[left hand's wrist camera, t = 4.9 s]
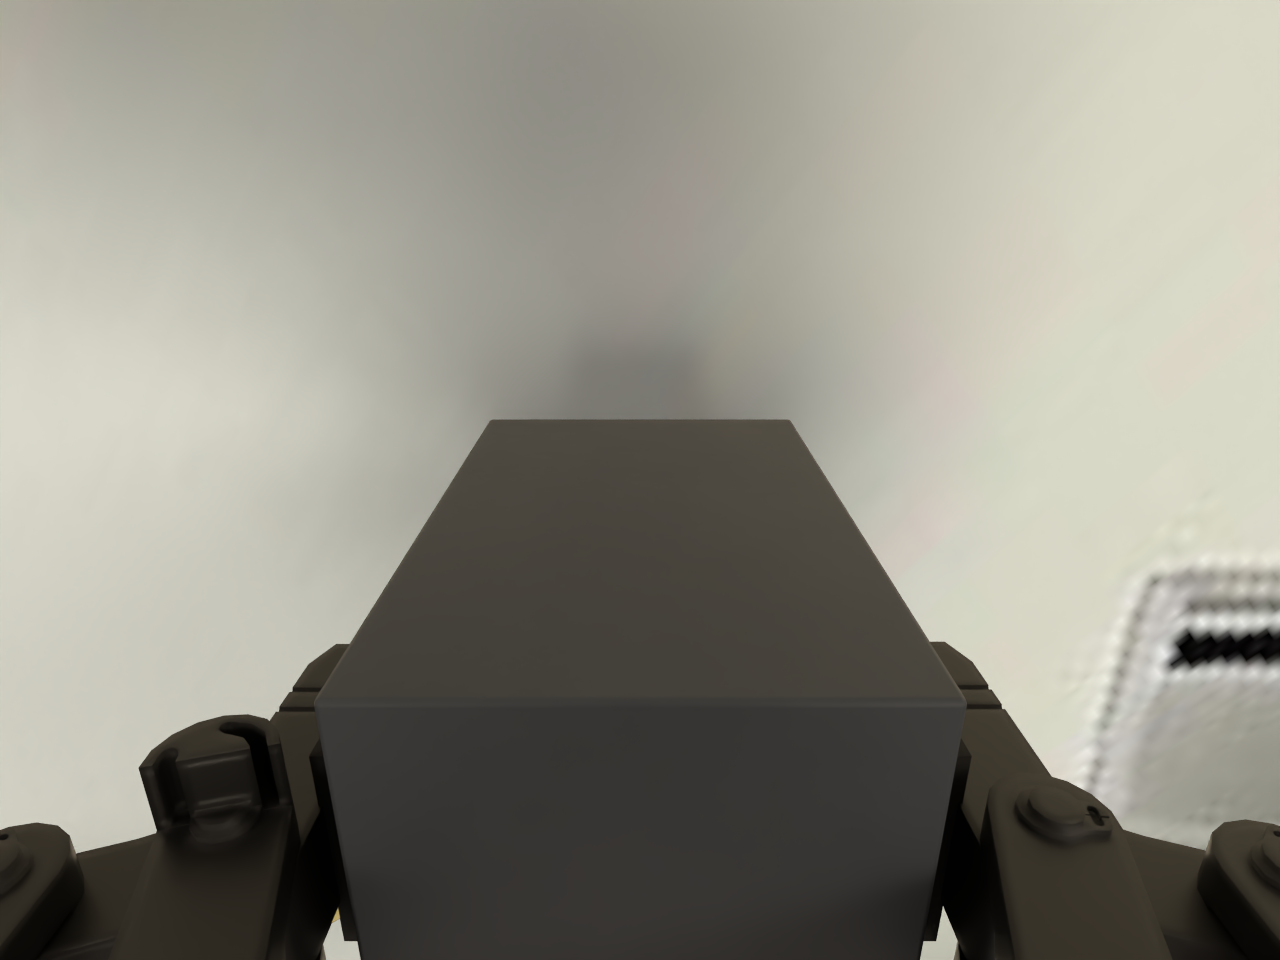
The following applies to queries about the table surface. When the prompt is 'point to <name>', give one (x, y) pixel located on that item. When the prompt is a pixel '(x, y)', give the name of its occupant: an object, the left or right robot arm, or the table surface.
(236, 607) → the table surface
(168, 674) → the table surface
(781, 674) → the bar
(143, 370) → the table surface
